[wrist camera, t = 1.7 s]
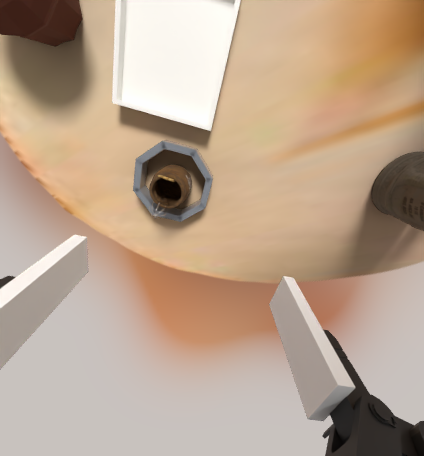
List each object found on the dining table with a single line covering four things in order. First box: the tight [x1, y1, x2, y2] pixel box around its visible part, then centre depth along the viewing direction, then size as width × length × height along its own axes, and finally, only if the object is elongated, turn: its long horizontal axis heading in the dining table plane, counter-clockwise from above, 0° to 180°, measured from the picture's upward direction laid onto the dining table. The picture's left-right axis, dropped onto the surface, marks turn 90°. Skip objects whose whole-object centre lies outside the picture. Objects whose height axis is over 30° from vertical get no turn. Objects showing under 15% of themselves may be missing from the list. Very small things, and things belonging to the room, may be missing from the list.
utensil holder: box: [149, 165, 192, 219], centre depth 29 cm, size 6×6×12 cm
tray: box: [112, 0, 241, 131], centre depth 26 cm, size 16×14×2 cm
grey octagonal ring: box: [133, 140, 213, 222], centre depth 33 cm, size 12×12×3 cm
